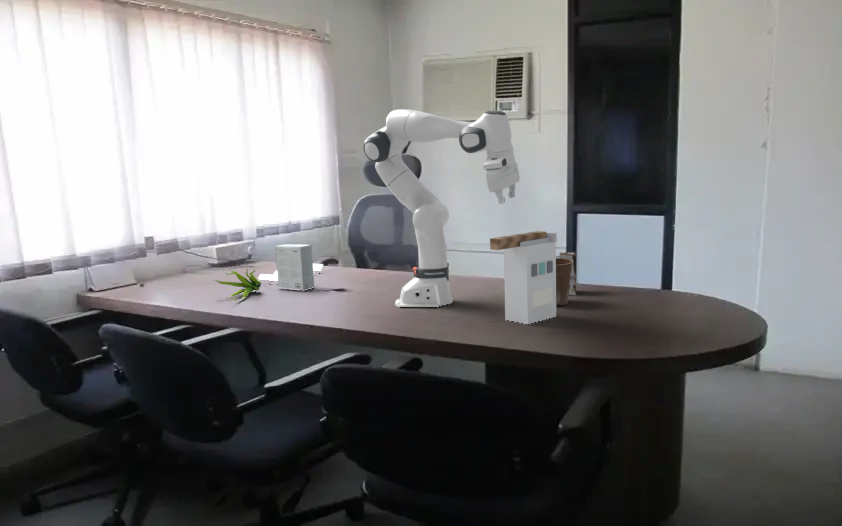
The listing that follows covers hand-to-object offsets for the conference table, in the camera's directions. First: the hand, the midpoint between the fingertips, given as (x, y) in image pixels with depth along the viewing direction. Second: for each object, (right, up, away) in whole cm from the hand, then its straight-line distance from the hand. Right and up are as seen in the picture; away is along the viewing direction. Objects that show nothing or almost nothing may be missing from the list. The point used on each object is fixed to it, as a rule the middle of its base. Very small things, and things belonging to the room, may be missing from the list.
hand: (507, 200), depth 225 cm
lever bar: (+4, -15, -3) cm, 16 cm away
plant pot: (+20, -37, +26) cm, 49 cm away
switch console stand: (+9, -40, +4) cm, 41 cm away
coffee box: (+30, -34, +43) cm, 62 cm away
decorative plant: (-105, -37, +57) cm, 125 cm away
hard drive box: (-85, -33, +74) cm, 118 cm away
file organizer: (-94, -29, +104) cm, 143 cm away
